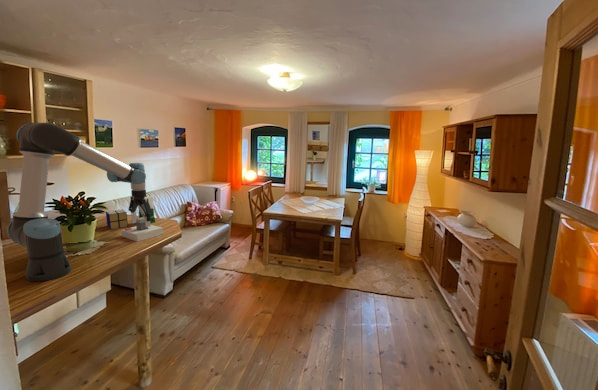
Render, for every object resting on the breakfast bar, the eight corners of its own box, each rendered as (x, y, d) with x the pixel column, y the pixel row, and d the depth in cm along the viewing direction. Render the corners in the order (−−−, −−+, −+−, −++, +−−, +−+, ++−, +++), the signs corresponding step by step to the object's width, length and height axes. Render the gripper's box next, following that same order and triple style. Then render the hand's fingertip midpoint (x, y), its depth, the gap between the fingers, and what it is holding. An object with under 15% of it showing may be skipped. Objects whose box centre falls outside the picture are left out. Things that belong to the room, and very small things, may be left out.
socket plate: (137, 241, 170) (136, 233, 169) (121, 236, 178) (121, 228, 177) (162, 234, 184) (162, 226, 183) (147, 229, 192) (146, 222, 191)
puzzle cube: (107, 226, 198) (105, 211, 196) (124, 223, 204) (122, 209, 202) (110, 229, 190) (108, 214, 188) (128, 226, 197) (126, 211, 195)
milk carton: (148, 220, 212) (146, 192, 208) (157, 221, 209) (155, 193, 205) (137, 223, 204) (134, 194, 201) (146, 225, 201) (144, 195, 197)
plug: (141, 236, 178) (140, 219, 176) (137, 234, 180) (135, 218, 178) (148, 234, 182) (147, 218, 180) (144, 232, 184) (142, 217, 182)
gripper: (157, 190, 172) (160, 226, 176) (132, 186, 185) (135, 220, 189) (145, 192, 166) (147, 229, 170) (120, 188, 179) (123, 222, 182)
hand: (141, 224), depth 179 cm, fingers open, 13 cm apart
